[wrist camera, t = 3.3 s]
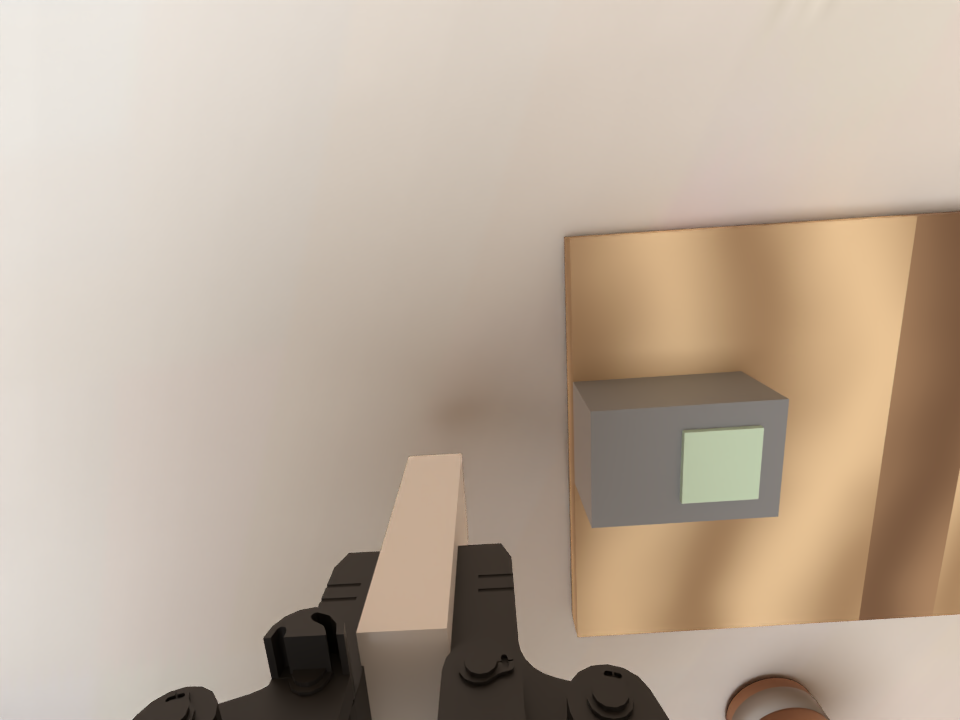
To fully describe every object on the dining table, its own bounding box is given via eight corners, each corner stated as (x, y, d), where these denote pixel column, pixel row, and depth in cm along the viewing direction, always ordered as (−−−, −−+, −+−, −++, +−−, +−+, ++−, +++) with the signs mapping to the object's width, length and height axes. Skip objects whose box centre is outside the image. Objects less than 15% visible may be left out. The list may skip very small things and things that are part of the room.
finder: (574, 483, 20) (593, 531, 17) (572, 381, 19) (592, 413, 16) (734, 473, 20) (781, 519, 17) (741, 371, 19) (792, 401, 16)
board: (572, 615, 23) (577, 637, 22) (564, 237, 19) (569, 238, 18) (990, 590, 23) (1018, 610, 22) (1075, 203, 19) (1114, 203, 18)
